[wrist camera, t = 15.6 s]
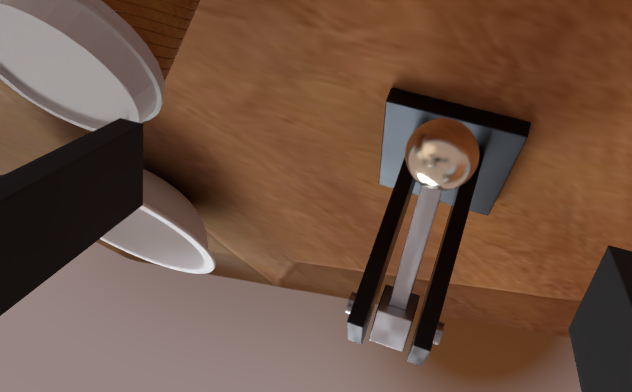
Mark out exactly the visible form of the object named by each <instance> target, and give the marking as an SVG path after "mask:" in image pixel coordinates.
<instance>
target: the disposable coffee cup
mask: <svg viewBox="0 0 632 392" xmlns="http://www.w3.org/2000/svg"><path fill="white" fill-rule="evenodd" d="M199 1H200V0H0V79H1V80H2V81H3V82H5V83H6V84H7V85H8V86H10V87H11V88H12V89H13V90H15V91H16V92H18V93H19V94H20V95H22V96H23V97H25V98H26V99H28V100H29V101H31V102H32V103H34V104H36V105H37V106H39V107H41V108H42V109H44V110H46V111H48V112H49V113H51V114H53V115H55V116H57V117H59V118H61V119H63V120H65V121H67V122H70V123H72V124H74V125H76V126H79V127H82V128H85V129H87V130H90V131H95V130H97V129H99V128H101V127H103V126H105V125H107V124H109V123H111V122H113V121H115V120H117V119H119V118H122V119H126V120H130V121H134V122H138V123H142V122H143V121H148V120H150V119H152V118H154V117H155V116H156V115H157V114H158V113H159V112H160V109H161V106H162V103H163V100H164V99H163V93H164V83H165V79H166V77H167V75H168V72H169V70H170V68H171V66H172V64H173V61H174V59H175V56H176V55H177V52H178V50H179V47H180V46H181V43H182V41H183V37H184V36H185V34H186V31H187V28H188V27H189V25H190V22H191V20H192V18H193V16H194V13H195V11H196V9H197V7H198V4H199Z"/></svg>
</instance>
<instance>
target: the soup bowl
mask: <svg viewBox="0 0 632 392" xmlns="http://www.w3.org/2000/svg"><path fill="white" fill-rule="evenodd" d="M100 239H101V240H103V241H105V242H107V243H109V244H111V245H113V246H115V247H117V248H119V249H121V250H123V251H125V252H128V253H130V254H132V255H135V256H137V257H139V258H142V259H144V260H147V261H150V262H152V263H155V264H158V265H161V266H164V267H167V268H171V269H174V270H179V271H183V272H188V273H197V274H204V273H209V272H211V271H213V269H214V268H215V265H216V261H215V258H214V256H213V254H212V253H211V252H210V250H209V249H208V240H207V234H206V230H205V227H204V224H203V222H202V220H201V218H200V216H199V214H198V212H197V211H196V209H195V208H194V206H193V205H192V204H191V203H190V201H189V200H188V199H187V198H186V197H185V196H184V195H183V194H182V193H180V192H179V191H178V190H177V189H175V188H174V187H173V186H172V185H170V184H169V183H167V182H166V181H164V180H163V179H161V178H160V177H158V176H156V175H154V174H153V173H151V172H149V171H147V170H145V169H143V205H142V206H141V207H140V208H138V209H137V210H136V211H135V212H133V213H132V214H131V215H129V216H128V217H127V218H126V219H124V220H123V221H122V222H120V223H119V224H118V225H117V226H115V227H114V228H113V229H111V230H110V231H109V232H107V233H106V234H105V235H104V236H102V237H101V238H100Z"/></svg>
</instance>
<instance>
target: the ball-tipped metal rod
mask: <svg viewBox="0 0 632 392" xmlns="http://www.w3.org/2000/svg"><path fill="white" fill-rule="evenodd" d="M479 155H480V152H479V145H478V142H477V139H476V137H475V136H474V134H473V133H472V131H471V130H470V129H469V128H468V127H467V126H466V125H464V124H463V123H461V122H459V121H457V120H454V119H449V118H436V119H432V120H429V121H427V122H425V123H423V124H421V125H420V126H419V127H418V128H416V129H415V131H414V132H413V133H412V134H411V136H410V138H409V140H408V142H407V145H406V149H405V161H406V165H407V168H408V170H409V172H410V174H411V175H412V177H413V178H414V179H415V180H416V181H417V182H418V183H419V184H421V188H420V191H419V195H418V199H417V202H416V206H415V210H414V213H413V217H412V221H411V224H410V228H409V232H408V235H407V239H406V242H405V246H404V250H403V253H402V257H401V261H400V264H399V268H398V272H397V275H396V279H395V283H394V286H393V287H392V286H389V285H386V286H385V289H384V291H383V294H382V297H381V300H380V302H379V305H378V308H377V311H376V315H375V319H374V322H373V327H372V330H371V334H370V338H369V340H370V341H373V342H376V343H379V344H382V345H384V346H387V347H390V348H393V349H396V350H399V351H403V350H404V347H405V344H406V340H407V337H408V335H409V331H410V328H411V325H412V322H413V319H414V315H415V312H416V308H417V304H418V301H419V297H420V296H419V295H416V294H413V293H412V289H413V286H414V283H415V280H416V276H417V273H418V270H419V266H420V263H421V260H422V257H423V253H424V250H425V247H426V243H427V240H428V237H429V234H430V230H431V227H432V224H433V220H434V217H435V214H436V211H437V207H438V204H439V201H440V197H441V194H442V191H446V190H451V189H454V188H457V187H459V186H461V185H463V184H464V183H465V182H467V181H468V180H469V179H470V178H471V176H472V175H473V174H474V172H475V170H476V168H477V166H478V162H479Z"/></svg>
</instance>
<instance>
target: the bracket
mask: <svg viewBox="0 0 632 392" xmlns="http://www.w3.org/2000/svg"><path fill="white" fill-rule="evenodd" d="M436 118H449V119H454V120H457V121H459V122H461V123H463V124H464V125H466V126H467V127H468V128H469V129H470V130H471V131H472V133H473V134H474V136H475V137H476V139H477V142H478V145H479V152H480V155H479V162H478V166H477V168H476V170H475V172H474V174H473V175H472V176H471V178H470V179H469V180H468V181H467V182H465V183H464V184H463V185H461V186H459V187H457V188H454V189H451V190H446V191H442V194H441V197H440V201H439V202H443V203H446V204H449V205H452V206H451V210H450V213H449V217H448V220H447V224H446V227H445V230H444V234H443V237H442V241H441V244H440V248H439V251H438V255H437V258H436V261H435V265H434V268H433V272H432V275H431V279H430V282H429V286H428V289H427V292H426V296H425V299H424V303H423V306H422V310H421V313H420V317H419V320H418V323H417V327H416V330H415V334H414V337H413V341H412V344H411V348H410V351H409V354H408V358H407V361H408V362H411V363H414V364H417V365H420V366H422V365H423V363H424V361H425V360H426V358H427V356H428V354H429V352H430V351H431V348H432V344H436V345H438V344H439V343H440V340H441V337H442V333H443V330H444V326H445V323H443V322H440V321H439V319H440V315H441V311H442V308H443V304H444V300H445V297H446V293H447V289H448V286H449V282H450V278H451V275H452V271H453V267H454V264H455V260H456V256H457V253H458V249H459V245H460V242H461V238H462V234H463V231H464V227H465V223H466V220H467V216H468V212H469V210H470V211H474V212H477V213H480V214H484V215H489V213H490V211H491V209H492V207H493V205H494V203H495V201H496V199H497V197H498V195H499V193H500V191H501V189H502V187H503V185H504V183H505V181H506V179H507V177H508V176H509V174H510V172H511V170H512V168H513V166H514V164H515V162H516V160H517V158H518V156H519V154H520V152H521V150H522V148H523V146H524V144H525V142H526V140H527V138H528V134H529V130H530V126H531V123H530V122H527V121H523V120H519V119H515V118H511V117H507V116H503V115H499V114H495V113H491V112H487V111H483V110H479V109H475V108H471V107H467V106H463V105H459V104H455V103H451V102H447V101H443V100H439V99H435V98H431V97H427V96H423V95H419V94H415V93H411V92H407V91H403V90H399V89H395V88H391V90H390V92H389V95H388V97H387V100H386V108H385V119H384V130H383V142H382V153H381V164H380V176H379V184H381V185H384V186H388V187H391V188H394V189H393V191H392V194H391V197H390V200H389V203H388V206H387V209H386V212H385V214H384V217H383V220H382V223H381V226H380V229H379V232H378V234H377V237H376V240H375V243H374V246H373V249H372V252H371V254H370V257H369V260H368V263H367V266H366V269H365V272H364V274H363V277H362V280H361V283H360V286H359V289H358V292H357V293H355V292H352V293H351V295H350V297H349V300H348V303H347V307H346V313H347V314H350V315H349V318H348V321H347V330H348V331H347V332H348V340H350V341H353V342H355V343H358V344H362V343H363V340H364V337H365V334H366V331H367V328H368V325H369V322H370V319H371V315H372V313H373V309H374V306H375V304H376V301H377V298H378V295H379V291H380V288H381V285H382V282H383V279H384V276H385V273H386V270H387V267H388V264H389V261H390V258H391V255H392V252H393V249H394V246H395V243H396V240H397V237H398V234H399V231H400V228H401V225H402V222H403V219H404V216H405V213H406V210H407V207H408V204H409V201H410V198H411V195H412V194H415V195H419V191H420V188H421V184H419V183H418V182H417V181H416V180H415V179H414V178H413V177H412V175H411V174H410V172H409V170H408V168H407V165H406V161H405V149H406V145H407V142H408V140H409V138H410V136H411V134H412V133H413V132H414V131H415V129H416V128H418V127H419V126H420V125H421V124H423V123H425V122H427V121H429V120H432V119H436Z"/></svg>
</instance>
